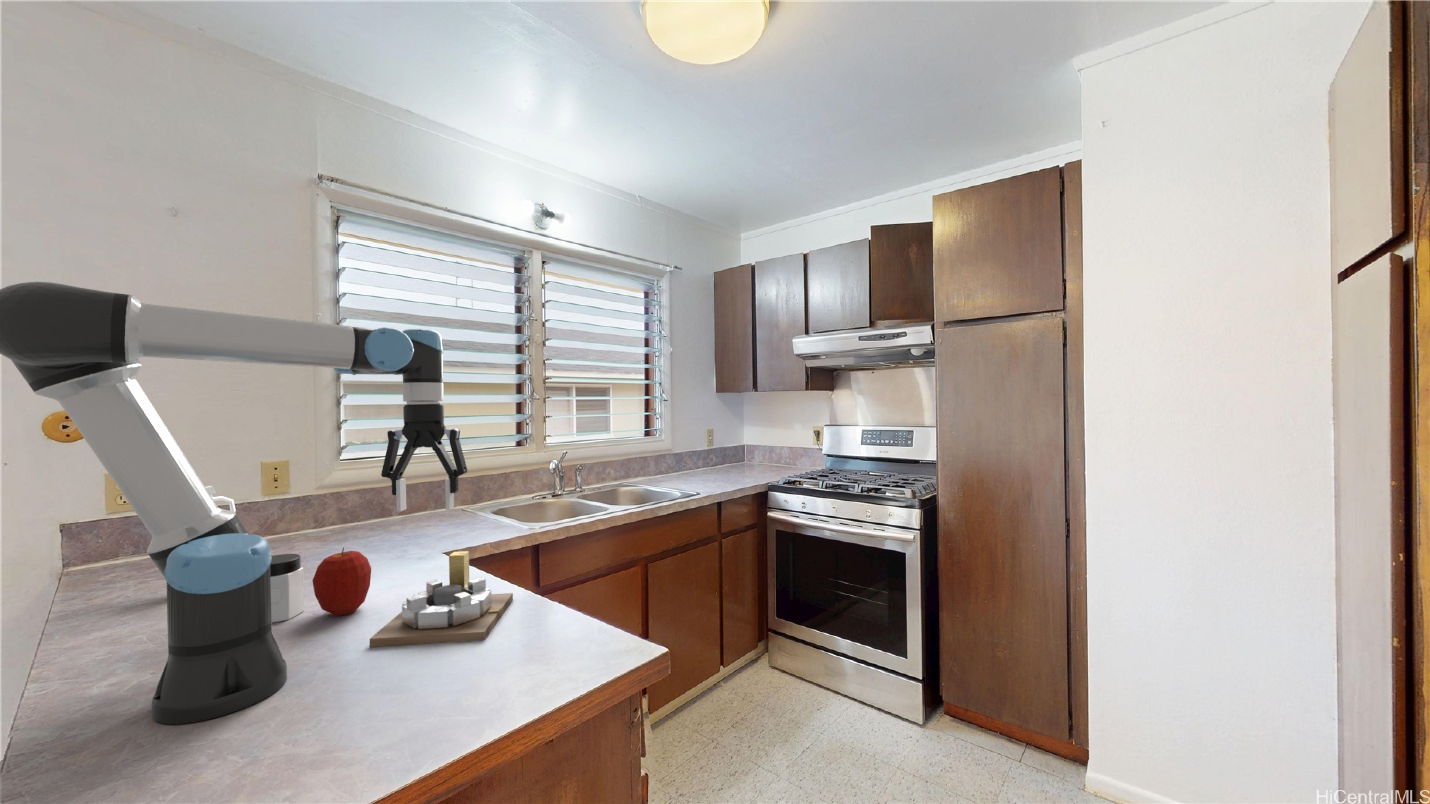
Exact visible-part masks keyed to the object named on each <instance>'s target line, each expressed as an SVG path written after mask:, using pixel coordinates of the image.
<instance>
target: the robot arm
mask: <svg viewBox="0 0 1430 804" xmlns="http://www.w3.org/2000/svg"><path fill="white" fill-rule="evenodd" d="M442 340H443V339H442V335H441V333H440V332H439V331H438V330H437V331H436V330H432V329H423V328H408V329H407V328H406V329H404V330H400V329H397V328H394V327H393V328H392V327H380V328H371V327H370V328H369V327H359V326H351V325H344V324H342V325H341V324H333V323H331V324H330V323H324V322H323V323H322V322H314V321H304V320H296V319H288V318H279V317H278V318H277V317H270V316H269V317H267V316H261V315H260V316H259V315H258V316H257V315H251V314H242V313H241V314H240V313H232V312H224V311H223V312H222V311H214V310H213V311H212V310H205V309H198V308H197V309H194V308H185V307H177V306H167V305H160V304H152V303H151V304H150V303H145V302H142V301H141V300H140V299H139V298H137V297H136V296H135V295H133V294H126V293H120V292H119V293H117V292H110V291H104V290H97V289H93V288H92V289H90V288H86V287H78V286H72V285H67V284H63V283H55V282H50V281H47V282H46V281H30V282H28V281H27V282H20V283H15V284H11V285H10V284H9V285H8V286H5V287H3V288H0V355H2V356H4V357H5V358H7V359H9V360H10V361H11V362H12V363H13V364H14V366H15V367H16V370H18V372H19V373H20V375H21V376H22V377H23V379H24V380H25V381H26V383H27V385H28V386H29V387H30V388H31V390H32V391H33V393H34V394H35V395H37V396H40V397H44V398H48V399H52V400H55V401H57V402H58V404H60V406H61V407H62V408H63V410H64V411H65V413H66V414H67V416H68V417H69V418H70V420H71V422H72V423H73V424H74V426H75V427H76V429H77V430H78V431H79V433H80V434H81V436H82V437H83V439H84V440H85V442H86V444H87V445H88V446H89V448H90V449H91V450H92V451H93V453H94V454H95V456H96V458H97V459H98V460H99V461H100V463H101V465H102V466H103V467H104V469H105V470H106V472H107V474H108V475H109V476H110V478H111V479H112V480H113V482H114V483H115V485H116V486H117V488H118V489H119V490H120V492H121V493H122V495H123V496H124V498H125V499H126V501H127V503H129V505H130V507H131V508H132V509H133V510H134V512H135V514H136V515H137V517H138V518H139V519H140V521H141V522H142V524H143V525H144V527H145V528H146V529H147V531H148V533H149V534H150V535H151V540H150V543H149V545H148V546H147V549H146V553H147V555H149V557H150V558H151V560H152V561H153V563H154V564H155V566H156V567H157V569H158V570H159V572H160V573H161V575H162V576H163V577H164V580H165V581H166V609H167V610H166V611H167V612H166V616H167V617H166V619H167V643H168V644H167V647H168V649H167V650H168V655H167V659H166V662H165V663H166V664H165V666H164V668H163V671H162V674H161V675H160V678H159V681H158V684H157V687H156V689H155V692H154V694H153V697H152V700H151V716H152V717H151V718H152V719H153V720H154V721H155V722H156V723H160V724H165V725H179V724H181V725H183V724H189V723H195V722H201V721H206V720H210V719H215V718H218V717H221V716H225V715H228V714H231V713H234V712H237V711H240V710H243V709H245V708H247V707H250V706H252V705H254V704H256V703H258V702H260V701H262V700H265V699H266V698H268V697H269V696H271V695H273V694H274V693H276V692H277V691H278V690H280V689H281V688H282V687H283V686H284V685H285V683H286V682H287V679H288V668H287V666H288V665H287V662H286V660H285V659H284V657H283V655H282V653H281V650H280V647H279V645H278V644H277V641H276V638H275V637H274V635H273V631H272V630H273V628H272V627H273V626H272V624H273V623H271V581H270V563H271V561H272V556H273V555H272V552H271V549H270V544H269V543H270V542H268V540H267V539H266V538H264V537H263V536H260V535H259V534H254V533H253V534H250V533H249V531H248V530H247V528H246V526H245V525H244V524H243V522H242V521H241V519H240V518H239V516H238V514H237V513H236V511H235V512H234V511H230V509H229V510H228V509H223V508H220V507H218V505H217V503H216V501H214V500H213V498H212V497H211V495H210V494H209V492H208V491H207V489H206V488H205V487H206V486H205V484H204V483H203V481H202V480H201V478H200V477H199V475H198V473H197V472H196V471H195V469H194V468H193V466H192V465H191V462H190V461H189V460H188V458H187V456H186V455H185V453H184V452H183V451H182V448H181V447H180V446H179V444H178V442H177V441H176V440H175V438H174V436H173V434H172V433H171V431H170V429H168V427H167V426H166V424H165V422H164V421H163V419H162V418H161V416H160V414H159V413H158V412H157V409H155V407H154V405H153V404H152V402H151V401H150V399H149V397H148V395H147V394H146V393H145V391H144V390H143V387H142V386H141V385H140V384H139V382H138V380H137V376H138V374H139V373H140V370H141V369H142V367H143V365H142V364H141V362H140V360H139V359H140V358H142V357H143V358H159V359H160V358H161V359H174V360H175V359H176V360H194V361H211V362H223V363H226V362H227V363H243V364H260V365H261V364H262V365H275V366H276V365H279V366H291V367H292V366H293V367H308V368H310V367H311V368H328V369H333V371H335V372H336V373H337V374H344V375H345V374H346V375H347V374H348V375H352V376H355V375H395V376H396V375H397V376H400V375H402V401H403V402H404V403H406V404H404V406H403V426H402V429H391V430H388V431H387V433H386V434H387V440H388V441H387V442H388V443H387V447H386V451H385V457H384V460H383V464H382V469H381V472H380V473H381V475H380V476H381V477H382V478H387V479H389V480H391V494H392V496H396V498H395V499H396V512H397V513H400V512H403V511H405V510H407V479H406V478H403V477H404V473H405V471H406V469H407V467H408V465H409V463H410V461H411V460H412V457H413V456H414V453H415V452H416V450H417V449H418V448H423V447H424V448H431V450H432V451H434V453H435V454H436V456H437V458H438V460H439V461H440V464H441V465H442V467H443V469H444V470H445V472H446V474H447V475H448V477H447V478H445V479H444V486H445V487H444V488H445V489H444V490H445V491H444V493H445V494H444V495H445V498H444V499H445V500H444V501H445V511H450V510H451V509H454V508H455V494H456V493H458V492H459V477H461V476H462V475H464V474H467V473H468V467H467V464H466V463H467V462H466V460H465V459H466V458H465V455H464V452H463V448H462V445H461V441H460V435H461V430H460V428H446V426H445V411H444V410H445V407H444V405H443V404H442V403H441V402H443V401H444V377H443V373H444V371H443V368H444V360H443V358H444V349H443V341H442ZM445 435H446V438H447V439H449V445H450V449H451V452H452V457H453V459H451V457H450V455H449V453H448V452H447V450H446V448H445V444H444V442H443V441H442V439H443V437H444V436H445ZM403 437H404V438H405V439H406V440H407V442H406V443H405V446H404V447H403V452H402V453H401V455H400V457H399V459H398V461H397V464H396V460H397V456H398V452H399V448H400V447H399V446H400V443H401V439H402V438H403ZM453 460H454V462H453Z"/></svg>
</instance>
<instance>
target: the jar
mask: <svg viewBox="0 0 1430 804" xmlns="http://www.w3.org/2000/svg"><path fill="white" fill-rule="evenodd" d="M301 565H302V564H301V555H300V554H298V553H283V554H274V555H272V561H271V563H270V581H271V624H274V623H280V622H283V621H288V620H291V619H293V618H294V617H296V616H297V615H300V614H301V613H303V612H304V611H305V593H304V592H305V591H304V589H305V588H304V587H305V585H304V568H303V567H301Z"/></svg>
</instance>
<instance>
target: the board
mask: <svg viewBox="0 0 1430 804" xmlns="http://www.w3.org/2000/svg"><path fill="white" fill-rule="evenodd" d="M458 593H462V586H460V585H450V584H447V585H442V587H439V588H437V589H435V590H434V606H442V605H451V604H454V595H455V594H458ZM513 596H514V593H513V592H508V593H491V606H490V607H489V609H488V610H487V611H486V613H485V614H484V615H480V617H479V618H476V619H473V620H470V621H467V622H464V623H461V624H458V625H455V626H453V625H451V624H450V625H449V626H448V627H442V628H426V629H418V627H417V628H413V627H411V626H409V625H407V624H406V623H404V622H402V611H401V612H400V613H398V614H397V615H396V616H394V617H393V618H392V619H391V620H390V621H389V622H388V623H386V624H385V625H383V627H382V628H380V629H379V630H378V631H376V633H375V634H373V635H372V636H371V637H370V638H369V648H377V647H392V646H393V647H394V646H406V645H407V646H408V645H425V644H441V643H452V642H453V643H455V642H471V641H472V642H473V641H485V640H486V638H488V636H489V634H490V633H491V631H492V630H494V628H495V626H496V625H497V623H498V622H499V620H500V619H501V617H502V616H503V615H504V613H505V612H506V611H507V609H508V607H509V606H510V604H511V603H512V602H513V600H514V597H513Z"/></svg>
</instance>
